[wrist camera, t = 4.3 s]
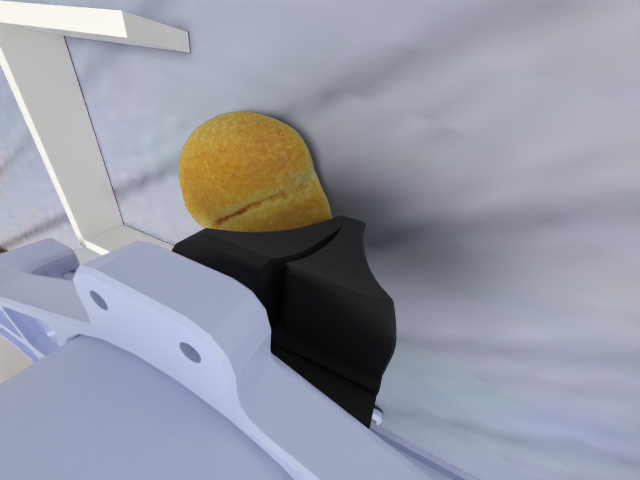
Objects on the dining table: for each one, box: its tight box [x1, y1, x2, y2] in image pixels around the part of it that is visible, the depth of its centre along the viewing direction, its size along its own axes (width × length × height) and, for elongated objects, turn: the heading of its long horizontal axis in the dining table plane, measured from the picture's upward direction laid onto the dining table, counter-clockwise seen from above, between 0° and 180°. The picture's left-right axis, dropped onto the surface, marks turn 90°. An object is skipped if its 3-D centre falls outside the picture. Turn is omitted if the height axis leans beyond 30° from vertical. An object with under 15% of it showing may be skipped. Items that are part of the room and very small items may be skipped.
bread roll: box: [179, 112, 332, 232], centre depth 13 cm, size 8×9×4 cm
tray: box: [0, 1, 190, 255], centre depth 16 cm, size 15×11×3 cm
